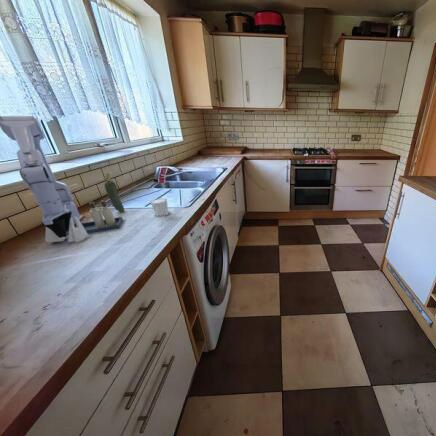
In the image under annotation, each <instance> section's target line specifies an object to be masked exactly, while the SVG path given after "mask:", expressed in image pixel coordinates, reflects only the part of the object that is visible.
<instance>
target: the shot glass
mask: <svg viewBox="0 0 436 436" xmlns="http://www.w3.org/2000/svg"><path fill="white" fill-rule="evenodd" d="M150 205H151V207H152V210H153V212H154V215H155V216H157V217H166V216H168V215H169V206H168V199H167V198H156V199H153V200H151V201H150Z"/></svg>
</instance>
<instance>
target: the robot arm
mask: <svg viewBox="0 0 436 436" xmlns="http://www.w3.org/2000/svg"><path fill="white" fill-rule="evenodd" d="M0 129H1V131H2V132H3V133H4V134H5V135H6V136H7V137H8V138H10V140H11V141H15V142H16V143H17V146H18V147H19V149H18V150H17V151H16V156H17V159H18V162H19V166H20V168H21V169H19V170H18V172H19V175H20V177H21V180H22V181H23V182H24V183H25V185H26V186H27V188H28V190H29V191H31V193H32V195H33V196H34V198H35V200H36V203H37V204H38V206H39V208H40V210H41V212H42V220H41V221H42V222H41V224H42V225H43V227H44V228H46V227H47V228H49V229H50V230H52V231H53V232H54V233H55V234H56V235H57V236H58V237H59V238H61V237H66V236H67V233H66V231H69V223H70V218H72V219H73V222H74V224H75V219H74V217H77V218H78V219H79V221H80V220H81V219H82V218H83V216H84V215H83V214H82V215H81V214H80V212H79V209H78V208H77V206H76V203H74V202H73V201H74V196H73V194H72V192H71V190H70V188H69V186H68V185H67V183H65V182H61V181H58V180H57V179H56V177H55V175H54V172H53V171H52V168H51V167H50V164H49V161H48V160H47V157H46V155H45V153H44V150H43V148H42V146H41V140H43V139H45V133H44V130H43V128H42V126H41V123H40V121H39V119H38V117H37V116H36V115H0Z"/></svg>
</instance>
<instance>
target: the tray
mask: <svg viewBox="0 0 436 436" xmlns="http://www.w3.org/2000/svg"><path fill="white" fill-rule="evenodd" d="M114 219H115V221H116V224H117V225H114V226H107V224H106V221H105V219H104V222H105V224H106V227H101V228H96V225H95V223H94V220H92V221H86V222H81V224H82V225H83V227H84V229H85V230H86V232H87V234H88V235H89V234H95V233H100V232H107V231H113V230H119V229H120V227H121V225H122V224H123V221H124V218H123V217H122V216H119V217H118V216H117V217H114ZM74 226H75V227H76V224H74ZM66 233H67V235H69V231H66Z"/></svg>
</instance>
